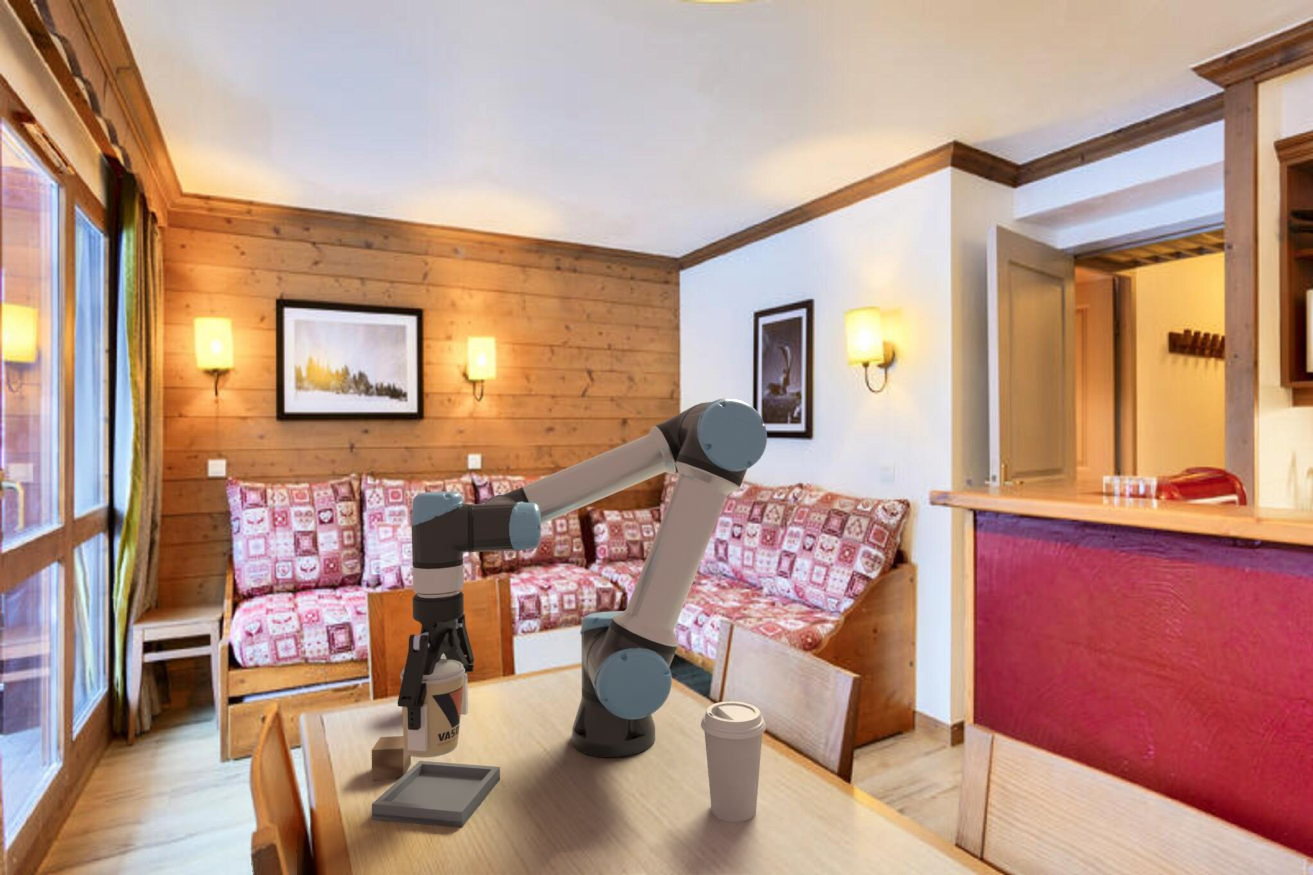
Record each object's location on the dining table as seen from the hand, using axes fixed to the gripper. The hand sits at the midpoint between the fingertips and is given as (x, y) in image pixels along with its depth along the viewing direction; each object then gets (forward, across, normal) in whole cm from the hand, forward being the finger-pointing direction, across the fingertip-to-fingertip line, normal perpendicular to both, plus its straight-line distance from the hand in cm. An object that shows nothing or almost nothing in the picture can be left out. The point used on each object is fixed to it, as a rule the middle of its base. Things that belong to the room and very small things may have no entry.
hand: (439, 730), depth 109 cm
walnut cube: (+11, -7, -12) cm, 18 cm away
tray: (+10, 0, 0) cm, 10 cm away
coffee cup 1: (+2, +2, 0) cm, 3 cm away
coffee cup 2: (+11, -3, +45) cm, 46 cm away
